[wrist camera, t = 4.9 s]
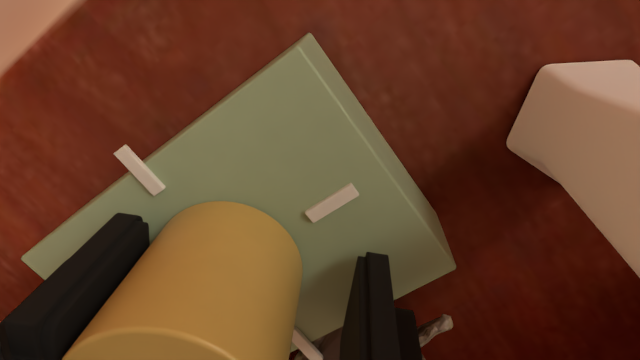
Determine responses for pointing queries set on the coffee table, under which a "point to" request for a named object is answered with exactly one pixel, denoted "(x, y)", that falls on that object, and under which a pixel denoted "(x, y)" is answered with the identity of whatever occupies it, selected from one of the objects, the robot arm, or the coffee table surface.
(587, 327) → the coffee table surface
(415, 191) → the panel
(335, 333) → the decorative bird model
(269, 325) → the knob
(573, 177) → the white faceted vase
